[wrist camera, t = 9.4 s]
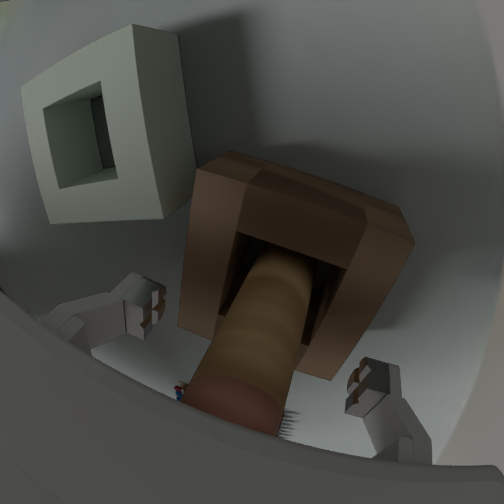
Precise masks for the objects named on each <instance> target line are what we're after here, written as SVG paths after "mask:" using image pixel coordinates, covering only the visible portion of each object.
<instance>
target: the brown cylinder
mask: <svg viewBox="0 0 504 504" xmlns="http://www.w3.org/2000/svg"><path fill="white" fill-rule="evenodd" d="M316 265H317V259H316V258H313V257H311V256H308V255H305V254H302V253H299V252H296V251H293V250H290V249H288V248H285V247H282V246H279V245H276V244H273V243H270V242H267V241H266V242H265V243H264V245H263V247H262V249H261V251H260V253H259V255H258V257H257V258H256V260H255V262H254V264H253V266H252V268H251V270H250V272H249V273H248V275H247V277H246V279H245V281H244V283H243V285H242V286H241V288H240V290H239V292H238V294H237V296H236V298H235V299H234V301H233V303H232V305H231V307H230V309H229V311H228V312H227V314H226V316H225V318H224V320H223V322H222V324H221V325H220V327H219V329H218V331H217V333H216V335H215V337H214V338H213V340H212V342H211V344H210V346H209V348H208V349H207V351H206V353H205V355H204V357H203V359H202V361H201V362H200V364H199V366H198V368H197V370H196V372H195V373H194V375H193V377H192V379H191V381H190V383H189V384H188V386H187V388H186V390H185V392H184V394H183V395H182V397H181V399H180V402H182V403H184V404H187V405H189V406H191V407H194V408H196V409H198V410H201V411H203V412H206V413H208V414H211V415H213V416H216V417H218V418H221V419H224V420H226V421H229V422H232V423H235V424H238V425H241V426H243V427H246V428H249V429H252V430H255V431H259V432H262V433H265V434H268V435H271V436H275V437H276V436H277V432H278V429H279V425H280V422H281V418H282V414H283V411H284V407H285V403H286V399H287V395H288V392H289V388H290V384H291V380H292V376H293V372H294V368H295V364H296V359H297V355H298V351H299V347H300V342H301V338H302V333H303V329H304V324H305V320H306V315H307V310H308V305H309V301H310V296H311V291H312V286H313V280H314V275H315V270H316Z"/></svg>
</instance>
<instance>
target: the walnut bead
mask: <svg viewBox="0 0 504 504" xmlns="http://www.w3.org/2000/svg"><path fill="white" fill-rule="evenodd" d="M251 236H253V237H255V238H258V239H261V240H264V241H267V242H270V243H273V244H276V245H279V246H282V247H285V248H288V249H290V250H293V251H296V252H299V253H302V254H305V255H308V256H311V257H313V258H316V259H319V260H322V261H325V262H328V263H330V264H333V265H332V267H331V270H330V272H329V274H328V277H327V279H326V281H325V283H324V285H323V288H322V290H321V292H320V294H319V296H318V299H317V298H314V297H311V296H310V301H309V305H308V310H307V315H306V320H305V324H304V329H303V333H302V338H301V342H300V347H299V351H298V355H297V359H296V364H295V368H294V370H296V371H299V372H302V373H305V374H309V375H312V376H315V377H319V378H322V379H325V380H329V381H331V380H332V379H333V377H334V376H335V375H336V373H337V372H338V370H339V369H340V368H341V366H342V365H343V363H344V362H345V361H346V359H347V358H348V356H349V355H350V353H351V352H352V350H353V349H354V347H355V346H356V344H357V343H358V341H359V340H360V338H361V337H362V335H363V334H364V332H365V331H366V329H367V328H368V326H369V324H370V323H371V321H372V320H373V318H374V316H375V315H376V313H377V311H378V310H379V308H380V306H381V305H382V303H383V301H384V300H385V298H386V296H387V295H388V293H389V291H390V289H391V288H392V286H393V284H394V282H395V281H396V279H397V277H398V275H399V273H400V272H401V270H402V268H403V266H404V264H405V262H406V260H407V258H408V257H409V255H410V253H411V251H412V249H413V247H414V245H415V242H414V239H413V237H412V235H411V232H410V230H409V228H408V226H407V223H406V221H405V219H404V217H403V215H402V212H401V210H400V208H399V207H396V206H394V205H391V204H389V203H386V202H384V201H381V200H379V199H376V198H374V197H371V196H368V195H366V194H363V193H361V192H358V191H355V190H352V189H350V188H347V187H344V186H342V185H339V184H336V183H333V182H330V181H327V180H324V179H322V178H319V177H316V176H313V175H310V174H307V173H304V172H301V171H297V170H294V169H291V168H288V167H285V166H282V165H278V164H275V163H272V162H268V161H265V160H262V159H258V158H255V157H251V156H248V155H244V154H241V153H237V152H233V151H229V152H227V153H225V154H223V155H221V156H220V157H218V158H216V159H214V160H212V161H210V162H208V163H206V164H205V165H203V166H201V167H199V168H197V170H196V177H195V183H194V189H193V196H192V203H191V210H190V217H189V224H188V232H187V240H186V248H185V256H184V265H183V274H182V283H181V293H180V304H179V315H178V327H181V328H183V329H185V330H188V331H190V332H193V333H195V334H197V335H200V336H202V337H205V338H207V339H210V340H213V338H214V337H215V335H216V333H217V331H218V329H219V327H220V325H221V324H222V322H223V320H224V318H225V316H226V314H227V312H228V311H229V309H230V307H231V305H232V303H233V301H234V299H235V298H236V296H237V294H238V292H239V290H240V288H241V286H242V285H243V283H244V281H245V279H246V277H247V275H248V274H245V273H242V268H243V265H244V261H245V257H246V253H247V249H248V245H249V241H250V237H251Z"/></svg>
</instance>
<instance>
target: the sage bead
mask: <svg viewBox="0 0 504 504" xmlns="http://www.w3.org/2000/svg"><path fill="white" fill-rule="evenodd" d="M21 94H22V102H23V110H24V117H25V123H26V129H27V135H28V140H29V146H30V151H31V155H32V160H33V164H34V169H35V173H36V177H37V181H38V185H39V189H40V192H41V196H42V199H43V203H44V206H45V210H46V213H47V216H48V219H49V223H50V225H52V224H67V223H84V222H103V221H124V220H149V219H164V218H166V217H167V216H168V215H170V214H171V213H172V212H174V211H175V210H176V209H178V208H179V207H180V206H182V205H183V204H184V203H186V202H187V201H188V200H190V199H191V198H192V196H193V189H194V183H195V177H196V170H197V167H196V161H195V155H194V149H193V143H192V136H191V130H190V123H189V117H188V110H187V103H186V96H185V89H184V82H183V74H182V67H181V59H180V51H179V43H178V35H177V34H173V33H169V32H165V31H161V30H157V29H153V28H149V27H145V26H140V25H135V24H130V25H128V26H126V27H124V28H121V29H119V30H117V31H115V32H113V33H111V34H108V35H106V36H104V37H102V38H100V39H98V40H96V41H94V42H93V43H91V44H89V45H87V46H85V47H83V48H81V49H80V50H78V51H76V52H74V53H73V54H71V55H69V56H67V57H66V58H64V59H62V60H61V61H59V62H58V63H56V64H54V65H53V66H51V67H50V68H48V69H47V70H45V71H44V72H42V73H41V74H39V75H38V76H36V77H35V78H33V79H32V80H30V81H29V82H28V83H26V84H25V85H24V86H22V87H21ZM101 95H103V101H104V108H105V114H106V120H107V126H108V131H109V137H110V142H111V147H112V152H113V157H114V162H115V167H112V168H106V169H103V167H102V162H101V158H100V153H99V148H98V143H97V138H96V133H95V127H94V121H93V115H92V109H91V102H90V100H91V99H93V98H96V97H98V96H101Z"/></svg>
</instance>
